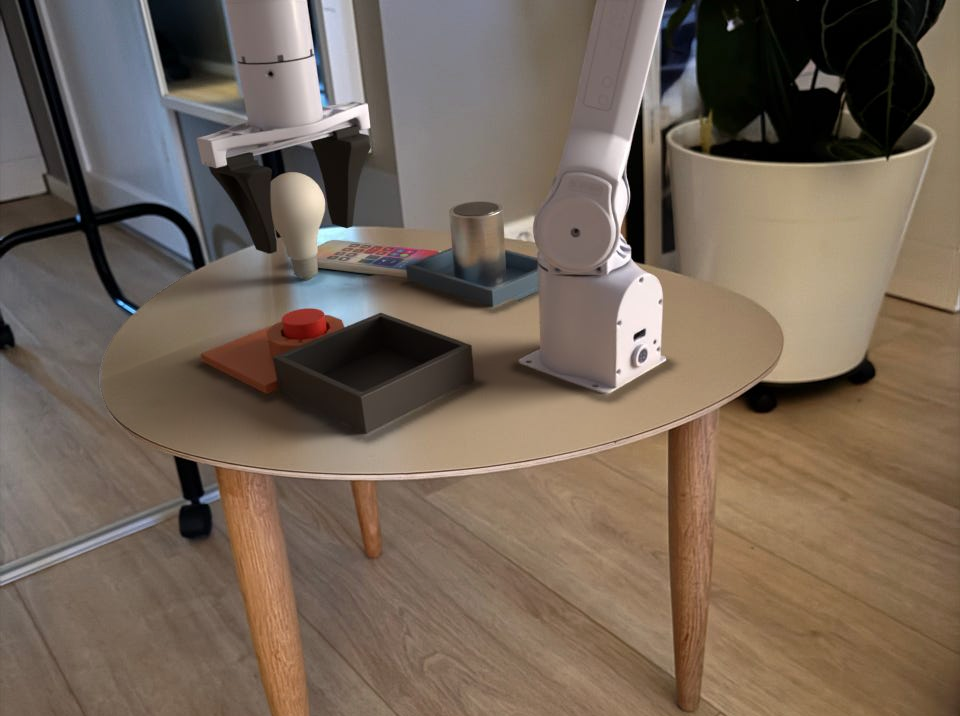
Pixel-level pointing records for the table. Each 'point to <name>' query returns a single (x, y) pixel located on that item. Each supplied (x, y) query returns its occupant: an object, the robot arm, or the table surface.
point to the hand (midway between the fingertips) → (305, 237)
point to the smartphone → (369, 257)
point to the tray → (441, 276)
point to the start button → (304, 324)
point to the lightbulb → (298, 219)
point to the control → (259, 354)
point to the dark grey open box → (374, 371)
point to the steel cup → (478, 242)
